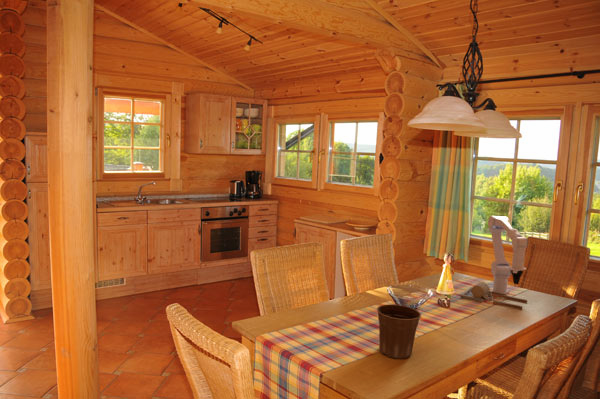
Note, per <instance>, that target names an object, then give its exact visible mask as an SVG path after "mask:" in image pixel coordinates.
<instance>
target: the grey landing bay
mask: <svg viewBox="0 0 600 399" xmlns="http://www.w3.org/2000/svg"><path fill="white" fill-rule="evenodd" d="M472 287H473V286H472ZM472 287H471V286H469V288H468V289H466V290H465V291H463V293H461V294H460V298H461V299H465V300H470V301H475V302H479V303H482V302H483V303H484V299H483V298H476V297H474V296H470V295H468V294H470V292H471V289H472ZM489 293H490V294H491V295H492V293H493V292H492V291H491V290H490V291H489Z"/></svg>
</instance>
